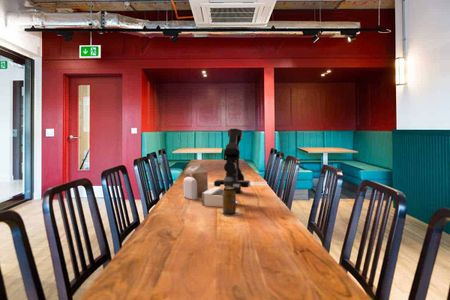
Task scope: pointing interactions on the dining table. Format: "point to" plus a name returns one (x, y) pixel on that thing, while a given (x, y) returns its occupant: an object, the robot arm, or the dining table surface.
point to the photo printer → (190, 188)
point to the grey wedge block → (213, 197)
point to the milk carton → (198, 177)
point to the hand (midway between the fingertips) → (232, 199)
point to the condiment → (229, 202)
